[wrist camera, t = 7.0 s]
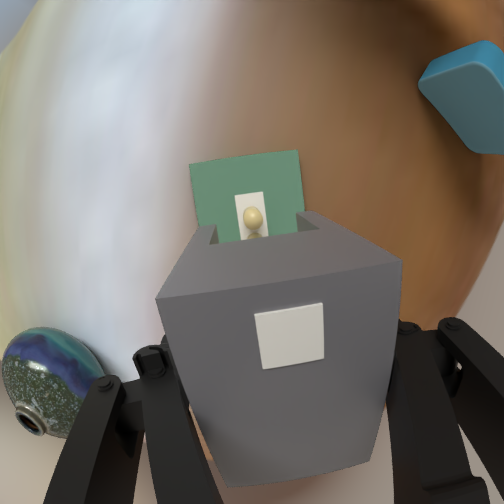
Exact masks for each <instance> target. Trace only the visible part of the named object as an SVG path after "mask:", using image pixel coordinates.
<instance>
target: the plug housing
mask: <svg viewBox="0 0 504 504" xmlns="http://www.w3.org/2000/svg"><path fill="white" fill-rule="evenodd" d="M296 221H297V230H298V232H294V233H287V234H280V235H273V236H266V237H259V238H253V239H246V240H239V241H232V242H225V243H219V239H218V233H217V227H216V224H212V225H205V226H199V228H198V229H197V231H196V232H195V234H194V235H193V237H192V239H191V240H190V242H189V243H188V245H187V247H186V248H185V250H184V251H183V253H182V255H181V256H180V258H179V260H178V261H177V263H176V265H175V266H174V268H173V270H172V271H171V273H170V275H169V276H168V278H167V280H166V281H165V283H164V285H163V286H162V288H161V290H160V292H159V293H158V295H157V297H156V298H155V300H156V303H157V307H158V310H159V314H160V317H161V321H162V324H163V327H164V331H165V334H166V337H167V340H168V343H169V347H170V350H171V353H172V356H173V359H174V362H175V365H176V367H177V370H178V373H179V376H180V379H181V382H182V384H183V387H184V390H185V392H186V395H187V398H188V400H189V403H190V405H191V408H192V410H193V413H194V415H195V418H196V420H197V423H198V425H199V428H200V430H201V432H202V435H203V437H204V439H205V441H206V444H207V446H208V448H209V450H210V453H211V455H212V457H213V459H214V461H215V463H216V465H217V468H218V469H219V472H220V474H221V476H222V478H223V480H224V482H225V484H226V486H227V487H240V486H241V487H242V486H253V485H261V484H270V483H278V482H284V481H290V480H296V479H301V478H306V477H311V476H316V475H320V474H325V473H329V472H333V471H337V470H341V469H344V468H348V467H352V466H355V465H358V464H362V463H365V462H368V461H369V460H370V457H371V454H372V451H373V447H374V443H375V440H376V437H377V433H378V429H379V426H380V422H381V417H382V413H383V409H384V405H385V400H386V396H387V391H388V386H389V381H390V375H391V369H392V364H393V357H394V351H395V344H396V336H397V328H398V319H399V308H400V296H401V281H402V260H401V259H400V258H398V257H396V256H394V255H393V254H391V253H389V252H388V251H386V250H384V249H382V248H381V247H379V246H377V245H375V244H373V243H372V242H370V241H368V240H366V239H365V238H363V237H361V236H359V235H357V234H356V233H354V232H352V231H350V230H348V229H346V228H344V227H343V226H341V225H339V224H337V223H335V222H333V221H331V220H329V219H328V218H326V217H324V216H322V215H320V214H318V213H316V212H314V211H304V212H296Z"/></svg>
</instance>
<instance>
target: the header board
mask: <svg viewBox="0 0 504 504" xmlns="http://www.w3.org/2000/svg"><path fill="white" fill-rule="evenodd" d="M189 168H190V175H191V181H192V188H193V194H194V200H195V206H196V212H197V218H198V224H199V226H205V225H212V224H216V227H217V233H218V239H219V243H225V242H232V241H239V240H246V239H253V238H259V237H266V236H273V235H280V234H287V233H294V232H298V230H297V221H296V212H304V211H305V209H304V199H303V190H302V181H301V173H300V165H299V157H298V150H289V151H279V152H270V153H261V154H253V155H246V156H238V157H231V158H225V159H218V160H212V161H206V162H200V163H194V164H189Z"/></svg>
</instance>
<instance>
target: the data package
mask: <svg viewBox="0 0 504 504" xmlns="http://www.w3.org/2000/svg"><path fill="white" fill-rule="evenodd" d="M418 88H419V90H420V91H421V93H422V94H423V95H424V96H425V97H426V98H427V99H428V100H429V101H430V102H431V103H432V105H433V106H434V107H435V108H436V109H437V110H438V111H439V113H440V114H441V115H442V116H443V117H444V118H445V120H446V121H447V122H448V123H449V125H450V126H451V127H452V128H453V129H454V131H455V132H456V133H457V135H458V136H459V137H460V139H461V140H462V141H463V142H464V144H465V145H466V146H467V147H468V148H469V149H470V150H472V151H473V152H476V153H483V154H501V155H504V54H503V52H502V51H501V50H500V48H499V47H497V46H496V45H495V44H493V43H492V42H489V41H485V40H483V41H479V42H476V43H473V44H471V45H468V46H465V47H463V48H460V49H458V50H455V51H453V52H450V53H448V54H445V55H443V56H441V57H438V58H436V59H434V60H432V61H431V62H430V64H429V65H428V67H427V68H426V70H425V72H424V73H423V75H422V77H421V78H420V80H419V81H418Z"/></svg>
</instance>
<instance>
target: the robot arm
mask: <svg viewBox="0 0 504 504" xmlns="http://www.w3.org/2000/svg"><path fill="white" fill-rule="evenodd" d="M132 359H133V361H134V364H135V366H136V369H137V371H138V373H139V376H140V379H137V380H134V381H130V382H126V383H122V382H121V380H120V379H119V377H117V376H115V375H105V376H102V377H99V378H98V379H96V380H95V381H94V382H93V383H92V384H91V386H90V388H89V390H88V392H87V394H86V396H85V399H84V401H83V403H82V405H81V407H80V410H79V412H78V414H77V416H76V419H75V421H74V423H73V425H72V428H71V430H70V432H69V435H68V437H67V440H66V442H65V445H64V447H63V450H62V452H61V455H60V457H59V460H58V462H57V465H56V468H55V471H54V473H53V476H52V479H51V481H50V484H49V487H48V490H47V493H46V496H45V499H44V502H43V504H133V499H134V492H135V485H136V478H137V473H138V466H139V460H140V454H141V449H142V443H143V438H144V433H145V435H146V443H147V449H148V455H149V462H150V468H151V474H152V479H153V484H154V489H155V494H156V499H157V503H158V504H224V503H223V501H222V499H221V496H220V494H219V491H218V489H217V486H216V484H215V481H214V479H213V476H212V473H211V471H210V468H209V466H208V463H207V460H206V457H205V454H204V452H203V449H202V446H201V443H200V440H199V437H198V434H197V431H196V428H195V425H194V422H193V419H192V416H191V413H190V411H189V400H188V398H187V395H186V392H185V390H184V387H183V384H182V382H181V379H180V376H179V373H178V370H177V367H176V365H175V362H174V359H173V356H172V353H171V350H170V347H169V343H168V340H167V337H166V334H165V335H164V336H163V338H162V341H161V344H160V345H149V346H146V347H143V348H141V349H140V350H138V351H137V352H136V353H135V354H134V355H133V358H132ZM458 362H459V363H460V364H461V366H462V368H461V370H460V369H459V368H458V367H457V364H458ZM386 406H387V414H388V421H389V431H390V441H391V452H392V465H393V483H394V504H490V500H489V495H488V490H487V486H486V483H485V481H484V480H483V479H482V478H481V477H475V476H473V475H472V473H471V470H470V465H469V461H468V457H467V453H466V450H465V446H464V442H463V439H462V436H461V432H460V429H459V426H458V424H459V425H460V427H461V428H462V430H463V432H464V433H465V435H466V436H467V438H468V440H469V441H470V443H471V444H472V446H473V448H474V449H475V451H476V453H477V454H478V456H479V458H480V459H481V461H482V463H483V464H484V466H485V468H486V470H487V471H488V473H489V475H490V477H491V478H492V480H493V482H494V484H495V486H496V488H497V489H498V491H499V493H500V495H501V497H502V499H503V500H504V358H503V356H501V355H500V354H499V353H498V352H497V351H496V350H495V349H494V348H493V347H492V346H491V345H490V344H489V343H488V342H487V341H486V340H484V339H483V338H482V337H481V336H480V335H479V334H478V333H477V332H476V331H474V330H473V329H472V328H471V327H470V326H469V325H468V324H467V323H465V322H464V321H462V320H461V319H458V318H455V317H453V318H452V317H449V318H444V319H442V320H440V322H439V323H438V329H437V330H428V331H422V330H421V328H420V327H419V326H418V325H417V324H415V323H411V322H402V321H401V320H400V319H398V328H397V336H396V344H395V351H394V357H393V364H392V369H391V375H390V381H389V386H388V391H387V396H386Z"/></svg>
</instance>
